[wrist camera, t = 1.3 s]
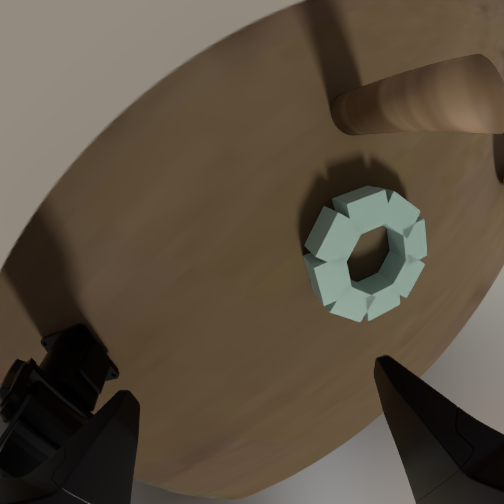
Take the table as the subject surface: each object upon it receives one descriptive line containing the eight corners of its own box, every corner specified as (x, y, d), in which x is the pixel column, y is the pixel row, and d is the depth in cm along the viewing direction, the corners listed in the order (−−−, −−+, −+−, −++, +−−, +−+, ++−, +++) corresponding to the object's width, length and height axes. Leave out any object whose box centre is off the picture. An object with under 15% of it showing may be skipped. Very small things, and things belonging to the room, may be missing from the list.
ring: (321, 322, 24) (332, 338, 21) (289, 214, 20) (300, 221, 18) (412, 277, 24) (428, 288, 22) (399, 174, 20) (418, 177, 18)
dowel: (339, 139, 19) (483, 138, 7) (324, 97, 17) (458, 50, 5) (374, 130, 19) (515, 130, 7) (361, 90, 18) (495, 57, 5)
